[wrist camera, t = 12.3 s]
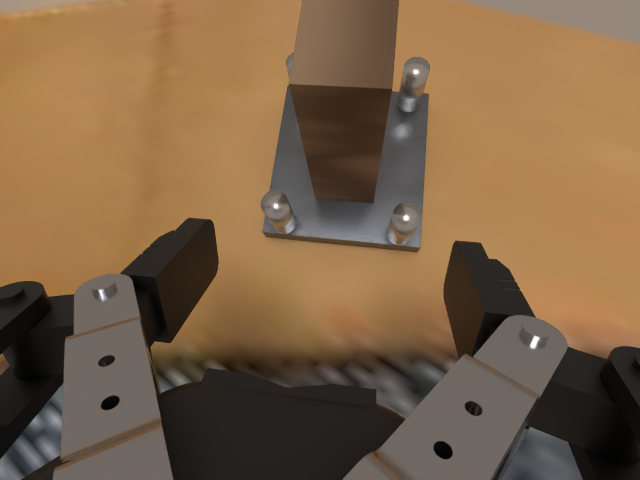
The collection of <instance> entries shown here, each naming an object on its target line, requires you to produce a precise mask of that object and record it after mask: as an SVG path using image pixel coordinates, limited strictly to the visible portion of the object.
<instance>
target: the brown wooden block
mask: <svg viewBox="0 0 640 480" xmlns="http://www.w3.org/2000/svg"><path fill="white" fill-rule="evenodd" d="M398 6H399V0H302V5H301V11H300V17H299V24H298V30H297V36H296V42H295V48H294V54H293V60H292V67H291V73H290V79H289V87H290V92H291V96H292V100H293V105H294V109H295V113H296V118H297V122H298V126H299V131H300V135H301V139H302V144H303V148H304V152H305V157H306V161H307V165H308V170H309V174H310V178H311V183H312V187H313V191H314V196H315V199H324V200H336V201H349V202H361V203H373V202H374V196H375V190H376V184H377V178H378V172H379V166H380V160H381V154H382V148H383V142H384V136H385V130H386V124H387V118H388V111H389V105H390V99H391V93H392V85H393V72H394V59H395V46H396V32H397V19H398Z"/></svg>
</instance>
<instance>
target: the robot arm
mask: <svg viewBox="0 0 640 480" xmlns="http://www.w3.org/2000/svg"><path fill="white" fill-rule="evenodd" d="M217 270H218V252H217V244H216V237H215V229H214V224H213V222H212V220H209V219H197V218H188V219H186V220H185V221H184V222H183V223H182V224H181V225H180V226H179V227H178V228H177V229H176V230H175V231H173V230H172V231H170V232H168V233H166V234H164V235H162V236H160V237H159V238H158V239H156V240H155V241H154V242H153V243H152V244H151V245H150V247H148V248H147V249H146V250H145V251H144V252H143V254H140V255H139V256H138V257H137V258H136V259H135V260H134V261H133V262H132V263H131V264H130V265H129V266H127V267H126V268H125V269H124V270H123V271H122V272H121V273H120V274H107V275H102V276H99V277H96V278H93V279H91V280H89V281H87V282H85V283H84V284H82V285H81V286H80V287H79V288H78V289H77V290H76V292H75V294H72V295H62V296H52V297H48V296H47V294H46V292H45V289H44V287H43V285H42V284H41V283H38V282H34V281H23V282H16V283H12V284H9V285H5V286H3V287H0V354H2V353H3V354H4V356H5V358H6V360H7V362H8V364H9V366H10V367H9V368H8V369H6V370H5V371H4V372H3V373H2V374H1V375H0V459H1V458H2V456H3V455H4V454H5V453H6V452H7V450H8V449H9V448H10V447H11V446H12V444H13V443H14V442H15V441H16V439H17V438H18V437H19V436H20V435H21V433H22V432H23V431H24V430H25V429H26V427H27V426H28V425H29V424H30V422H31V421H32V420H33V419H34V418H35V416H36V415H37V414H38V413H39V412H40V410H41V409H42V408H43V407H44V405H45V404H46V403H47V402H48V401H49V399H50V398H51V397H52V396H53V395H54V393H55V392H56V391H57V390H58V388H59V387H60V386H61V385H62V384H63V410H62V438H61V455H60V456H58V457H57V458H55V459H54V460H52V461H50V462H49V463H47V464H46V465H44V466H42V467H41V468H39V469H38V470H36V471H34V472H33V473H31V474H30V475H28V476H26V477H25V478H23V479H22V480H502V478H503V476H504V474H505V472H506V470H507V469H508V467H509V465H510V463H511V461H512V460H513V458H514V456H515V454H516V452H517V450H518V449H519V447H520V445H521V443H522V441H523V440H524V438H525V436H526V434H527V432H528V430H529V429H530V427H532V428H535V429H537V430H540V431H542V432H545V433H547V434H550V435H552V436H555V437H557V438H560V439H562V440H565V441H567V442H568V443H569V446H570V448H571V451H572V453H573V456H574V458H575V461H576V463H577V466H578V468H579V471H580V473H581V476H582V478H583V480H640V348H636V347H629V346H621V347H617V348H614V349H613V350H612V351H611V353H610V354H609V356H608V358H607V359H604V358H601V357H597V356H594V355H591V354H588V353H585V352H581V351H578V350H575V349H573V348H570V347H568V344H567V340H566V339H565V337H564V336H563V334H562V333H561V332H560V331H559V330H558V329H556V328H555V327H554V326H552V325H550V324H549V323H547V322H545V321H543V320H540V319H538V318H536V317H535V315H534V314H533V312H532V310H531V308H530V306H529V305H528V303H527V301H526V299H525V297H524V296H523V294H522V292H521V291H520V288H519V287H518V285H517V283H516V282H515V279H514V278H513V276H512V274H511V272H510V270H509V269H508V268H507V267H505V266H504V265H503V264H502V263H501V262H499V261H498V260H497V259H489V258H488V256H487V254H486V252H485V250H484V248H483V246H482V244H481V243H478V242H466V241H455V242H454V244H453V247H452V251H451V256H450V260H449V264H448V269H447V273H446V278H445V282H444V301H445V305H446V309H447V313H448V317H449V321H450V325H451V329H452V333H453V338H454V342H455V346H456V350H457V354H458V358H459V360H458V361H457V362H456V364H455V365H454V366H453V367H452V368H451V369H450V370H449V371H448V373H447V374H446V375H445V376H444V377H443V378H442V379H441V380H440V381H439V383H438V384H437V385H436V386H435V387H434V388H433V389H432V390H431V392H430V393H429V394H428V395H427V396H426V397H425V398H424V399H423V401H422V402H421V403H420V404H419V405H418V406H417V407H416V408H415V409H414V411H413V412H412V413H411V414H410V415H409V416H408V417H407V418H406V420H405V419H404V418H403V417H401V416H400V415H398V414H397V413H395V412H394V411H392V410H390V409H388V408H386V407H383V406H381V405H378V404H376V390H375V389H367V388H359V387H352V386H344V385H336V384H330V385H318V386H307V387H296V388H287V387H283V386H280V385H278V384H275V383H272V382H270V381H267V380H264V379H262V378H259V377H257V376H254V375H251V374H249V373H242V372H234V371H226V370H218V369H211V368H208V369H207V371H206V373H205V375H204V377H203V379H202V381H200V382H194V383H188V384H184V385H181V386H178V387H175V388H172V389H170V390H167V391H165V392H163V393H161V391H160V386H159V382H158V378H157V373H156V369H155V364H154V360H153V356H152V352H151V348H150V347H151V345H152V344H153V343H154V341H157V342H165V343H171V342H172V340H173V339H174V337H175V336H176V334H177V333H178V331H179V330H180V328H181V327H182V325H183V324H184V322H185V321H186V319H187V318H188V316H189V315H190V313H191V312H192V310H193V309H194V307H195V306H196V304H197V303H198V301H199V300H200V298H201V297H202V295H203V294H204V292H205V291H206V289H207V288H208V286H209V285H210V283H211V282H212V280H213V279H214V277H215V276H216V273H217Z"/></svg>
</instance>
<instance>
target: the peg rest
mask: <svg viewBox="0 0 640 480" xmlns="http://www.w3.org/2000/svg"><path fill="white" fill-rule="evenodd" d="M293 54H294V53H292V54H291V55H289V56H288V58H287V60H286V66H287V70H288V75H289V79H290V73H291V67H292V60H293ZM429 71H430V65H429V63H428V61H427V60H425V59H423V58H421V57H413V58H410V59H409V60H407V61H406V63H405V65H404V69H403V74H402V80H401V85H400V90H399V92H392V93H391V99H390V105H389V111H388V118H387V124H386V130H385V136H384V142H383V148H382V154H381V160H380V166H379V172H378V178H377V184H376V190H375V196H374V202H373V203H361V202H349V201H336V200H324V199H315V196H314V191H313V187H312V183H311V178H310V174H309V170H308V165H307V161H306V157H305V152H304V148H303V144H302V139H301V135H300V131H299V126H298V122H297V118H296V113H295V109H294V105H293V100H292V96H291V92H290V87H289V86H288V87H287V93H286V98H285V104H284V110H283V116H282V122H281V127H280V133H279V139H278V145H277V150H276V156H275V162H274V168H273V174H272V179H271V185H270V191H269V192H268V193H267V194H265V195H264V197H263V198H262V200H261V208H262V210H263V212H264V214H265V220H264V225H263V231H262V232H263V233H264V235H265V236H266V237H273V238H283V239H293V240H303V241H313V242H323V243H333V244H343V245H353V246H363V247H373V248H383V249H393V250H403V251H413V252H418V250H419V249H420V246H421V227H422V209H423V191H424V172H425V154H426V136H427V117H428V99H429V94H425V93H423V92H424V88H425V85H426V81H427V78H428V74H429Z"/></svg>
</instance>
